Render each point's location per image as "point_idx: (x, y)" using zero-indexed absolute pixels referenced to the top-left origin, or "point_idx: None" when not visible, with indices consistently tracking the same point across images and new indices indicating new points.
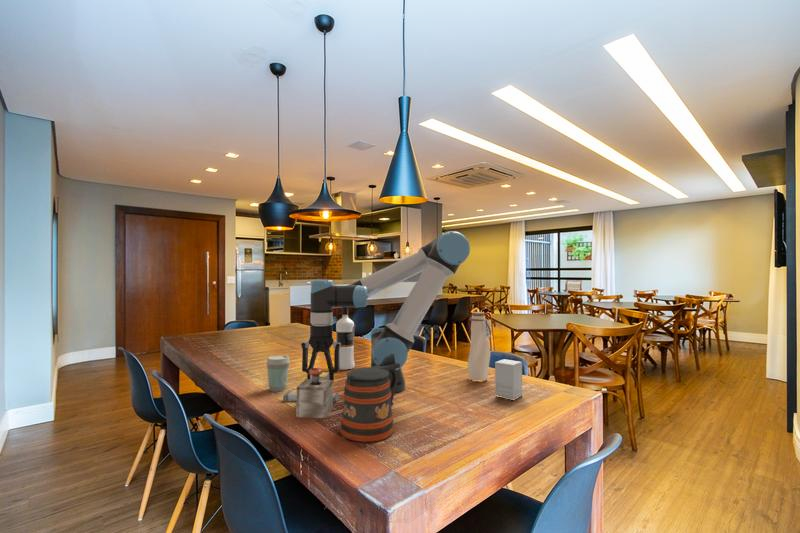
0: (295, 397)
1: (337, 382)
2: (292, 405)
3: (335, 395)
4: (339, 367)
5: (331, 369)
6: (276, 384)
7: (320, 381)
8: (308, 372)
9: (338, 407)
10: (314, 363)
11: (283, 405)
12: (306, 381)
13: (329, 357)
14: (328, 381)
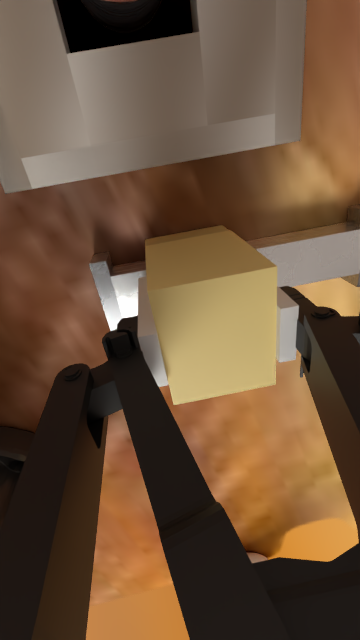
0: (314, 233)
1: (209, 471)
2: (302, 160)
3: (108, 292)
4: (250, 559)
5: (116, 372)
6: None
7: (103, 80)
8: (322, 309)
9: (43, 196)
10: (318, 411)
11: (349, 146)
12: (267, 29)
13: (148, 491)
14: (11, 108)
